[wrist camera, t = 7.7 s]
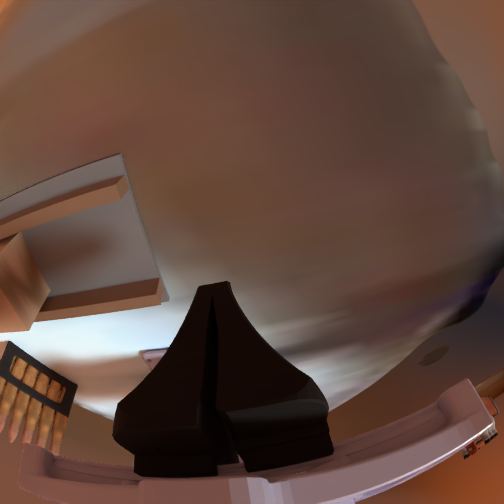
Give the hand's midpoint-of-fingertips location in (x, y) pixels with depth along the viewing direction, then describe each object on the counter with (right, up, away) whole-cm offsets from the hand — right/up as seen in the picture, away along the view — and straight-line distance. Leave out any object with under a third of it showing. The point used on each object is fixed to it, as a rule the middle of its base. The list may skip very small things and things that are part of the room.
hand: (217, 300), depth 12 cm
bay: (-15, +2, +6) cm, 16 cm away
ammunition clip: (-25, -12, +14) cm, 31 cm away
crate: (-19, +1, +6) cm, 20 cm away
